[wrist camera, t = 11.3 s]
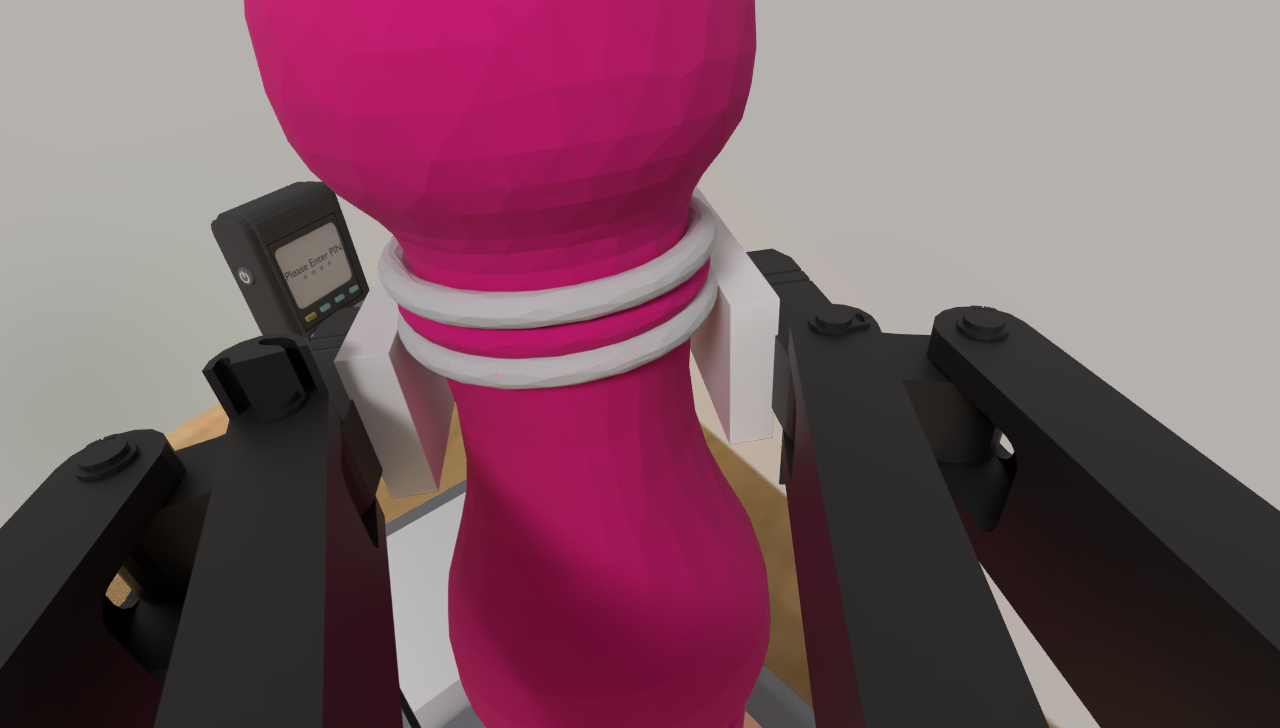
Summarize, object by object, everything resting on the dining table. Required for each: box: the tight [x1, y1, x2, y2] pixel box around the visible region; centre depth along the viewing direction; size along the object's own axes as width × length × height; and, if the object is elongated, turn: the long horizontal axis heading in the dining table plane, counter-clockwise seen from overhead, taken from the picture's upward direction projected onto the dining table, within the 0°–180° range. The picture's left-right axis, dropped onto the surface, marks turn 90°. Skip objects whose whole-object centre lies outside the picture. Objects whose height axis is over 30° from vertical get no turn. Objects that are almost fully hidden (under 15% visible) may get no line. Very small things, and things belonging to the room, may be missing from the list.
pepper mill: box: [244, 0, 770, 728], centre depth 11 cm, size 7×7×20 cm
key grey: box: [386, 492, 471, 728], centre depth 29 cm, size 9×9×3 cm
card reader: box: [211, 181, 369, 344], centre depth 50 cm, size 9×4×15 cm, turn 161°
